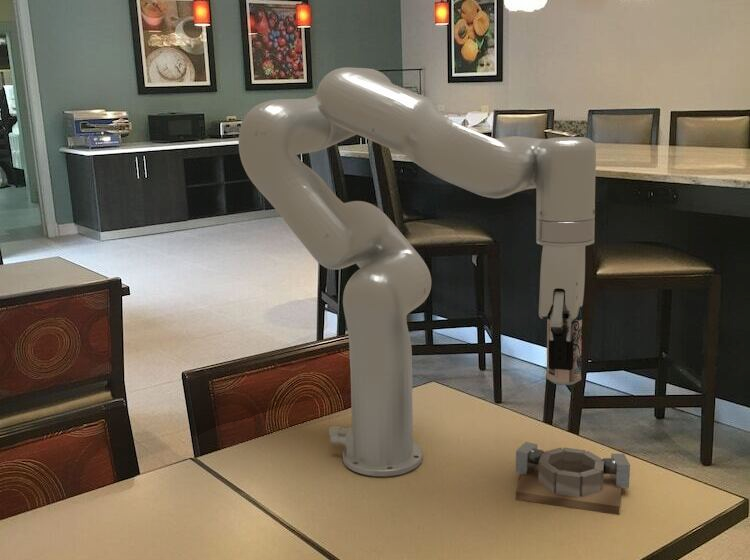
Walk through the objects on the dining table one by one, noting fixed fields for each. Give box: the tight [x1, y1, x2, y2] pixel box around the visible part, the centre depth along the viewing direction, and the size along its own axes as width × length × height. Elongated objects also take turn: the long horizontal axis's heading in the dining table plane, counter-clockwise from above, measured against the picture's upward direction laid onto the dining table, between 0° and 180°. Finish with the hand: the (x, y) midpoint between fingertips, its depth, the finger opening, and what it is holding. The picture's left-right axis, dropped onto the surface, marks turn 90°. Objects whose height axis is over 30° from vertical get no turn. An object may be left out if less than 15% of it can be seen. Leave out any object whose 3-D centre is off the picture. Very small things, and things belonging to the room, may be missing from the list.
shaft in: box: [515, 441, 545, 475], centre depth 117 cm, size 3×4×4 cm
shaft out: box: [602, 453, 631, 489], centre depth 114 cm, size 3×4×4 cm
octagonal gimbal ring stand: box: [515, 447, 622, 515], centre depth 114 cm, size 14×11×4 cm
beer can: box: [546, 302, 584, 386], centre depth 108 cm, size 5×5×12 cm
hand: (563, 360), depth 109 cm, fingers closed on beer can, 4 cm apart
